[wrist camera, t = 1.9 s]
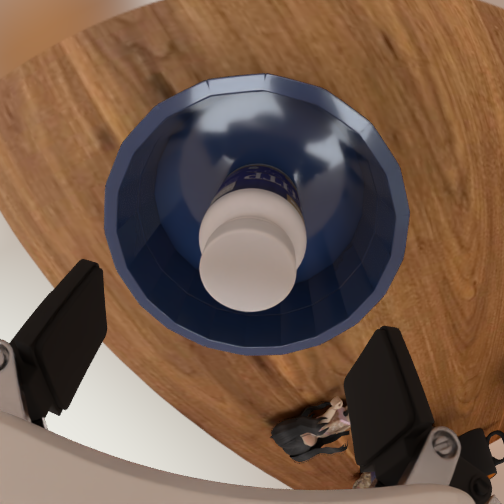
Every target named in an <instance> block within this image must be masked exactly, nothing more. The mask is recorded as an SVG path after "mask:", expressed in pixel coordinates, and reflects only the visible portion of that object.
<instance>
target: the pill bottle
mask: <svg viewBox="0 0 504 504" xmlns="http://www.w3.org/2000/svg"><path fill="white" fill-rule="evenodd" d="M306 244H307V237H306V228H305V224H304V219H303V214H302V210H301V205H300V200H299V196H298V192H297V189H296V187H295V185H294V183H293V182H292V180H291V179H290V178H289V177H288V176H287V175H286V174H285V173H284V172H282V171H281V170H279V169H278V168H276V167H273V166H270V165H266V164H249V165H245V166H242V167H240V168H238V169H236V170H235V171H233V172H232V173H231V174H230V175H229V176H228V177H227V178H226V179H225V180H224V182H223V183H222V185H221V187H220V188H219V190H218V192H217V193H216V195H215V197H214V198H213V200H212V202H211V204H210V206H209V208H208V209H207V211H206V213H205V215H204V218H203V220H202V223H201V226H200V231H199V245H200V250H201V253H202V256H201V259H200V266H199V270H200V277H201V280H202V283H203V285H204V287H205V289H206V290H207V291H208V293H209V294H210V295H211V296H212V297H213V298H214V299H215V300H217V301H218V302H219V303H221V304H222V305H224V306H226V307H229V308H231V309H235V310H238V311H245V312H255V311H262V310H266V309H269V308H271V307H273V306H275V305H277V304H278V303H280V302H281V301H282V300H284V299H285V298H286V297H287V295H288V294H289V293H290V291H291V290H292V288H293V286H294V283H295V280H296V271H297V269H298V267H299V265H300V264H301V262H302V260H303V258H304V254H305V251H306Z"/></svg>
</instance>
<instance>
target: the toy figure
mask: <svg viewBox="0 0 504 504" xmlns="http://www.w3.org/2000/svg"><path fill="white" fill-rule="evenodd" d="M319 403H320V402H319ZM329 404H331V405H332V407H330V408H329V409H328V410H327V411H326V413H325V414H324V415H322V416H319V417H316V418H311V417H312V416H313V415H315V414H312V415H311V416H310V417H307V416H308V415H309V414H310V413H311V412H312V411H313V410H319V409H323V408H325V407H326V406H327V405H329ZM315 405H316V404H315ZM342 405H343V401H342V400H341V399H340V398H339V397H338V396H337V397H335V398H334V399H332V401H331V402H330V403H329V402H325V403H321V404H319V405H318V406H311V407H308V408H307V409H305V408H304V409H305V410H304V409H303V410H304V412H303V413H302V412H301V413H302V414H301V416H300V417H297V416H296V417H297V418H293V417H292V418H293V419H290V420H285V419H283V420H285V421H283V422H281V423H279V424H277V425H276V426H275V427H274V426H273V427H274V428H273V430H271V431H272V432H271V434H272V436H271V437H272V438H273V439H274V440H275V442H276V443H277V444H278V445H279V446H280V447H282V448H283V450H284V451H285V452H286V453H287V454H289V455H290V457H291V458H292V459H294V460H295V461H298V462H302V461H305V460H308V459H310V458H312V457H313V456H315V455H317V454H319V453H326V454H333V453H335V452H342V451H344V450H346V449H347V446H348V440H347V446H346V444H345V447H344V445H343V446H342V447H340V448H330V447H325V448H321V447H322V446H323V445H324V444H328V443H331V442H333V441H336V440H337V439H338V438H340V437H341V436H344V435H349V432H350V430H349V431H345V430H346V429H348V428H349V427H351V426H350V420H349V414H348V408H347V406H346V407H345V408H344V407H342ZM309 406H310V405H309ZM306 407H307V406H306ZM336 409H337V410H336ZM288 419H289V418H288ZM279 422H280V421H279ZM336 433H337V434H336ZM271 437H270V438H271ZM343 454H344V453H343ZM323 455H324V454H323ZM333 455H334V454H333ZM294 460H293V461H294ZM310 460H311V459H310ZM295 461H294V462H295ZM308 461H309V460H308ZM305 462H306V461H305ZM295 463H296V462H295ZM303 463H304V462H303ZM298 464H300V463H298Z"/></svg>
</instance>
